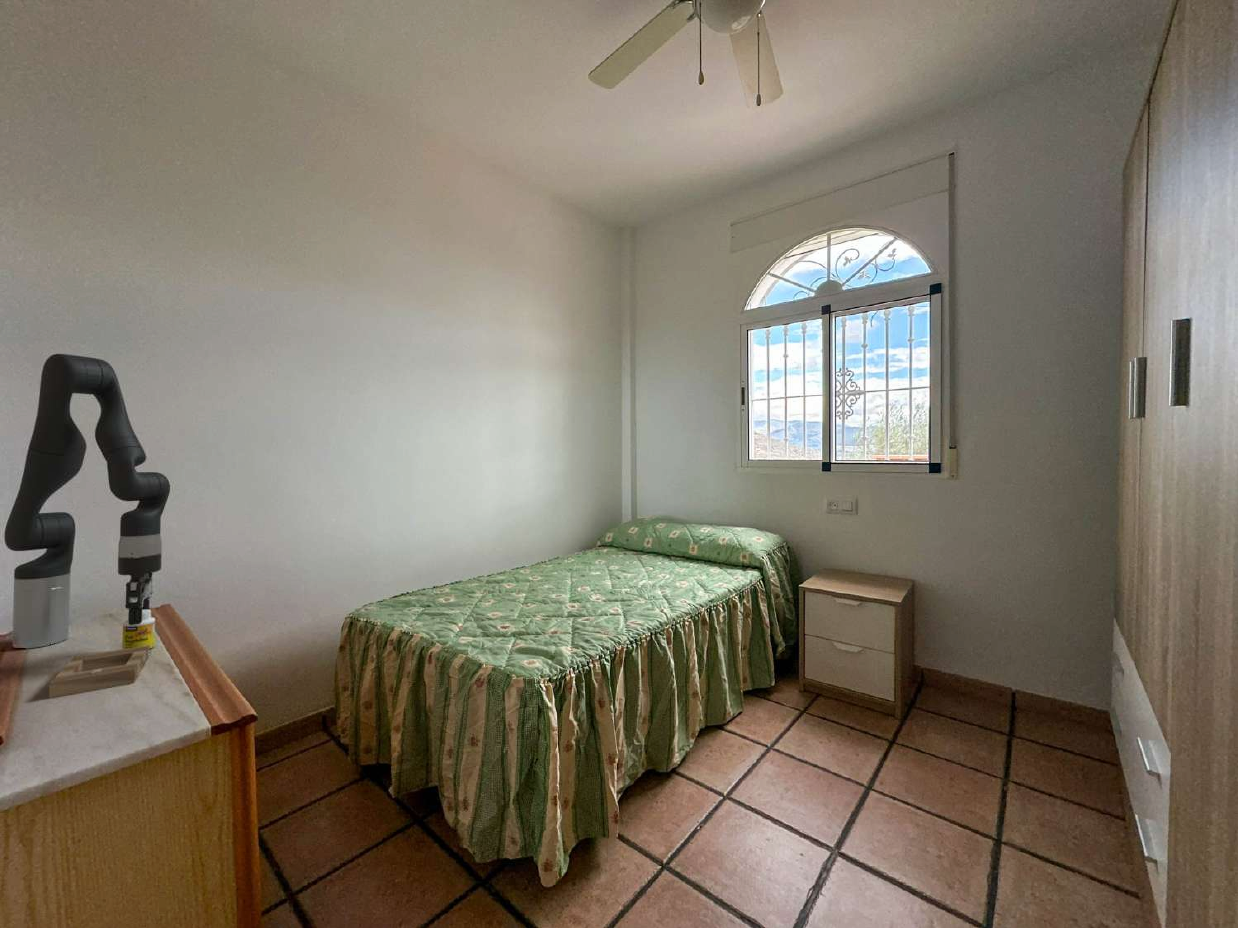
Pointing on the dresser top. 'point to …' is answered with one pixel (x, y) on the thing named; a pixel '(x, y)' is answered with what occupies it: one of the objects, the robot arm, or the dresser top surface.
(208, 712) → the dresser top surface
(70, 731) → the dresser top surface
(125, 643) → the supplement bottle
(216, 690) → the dresser top surface
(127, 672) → the holder block
